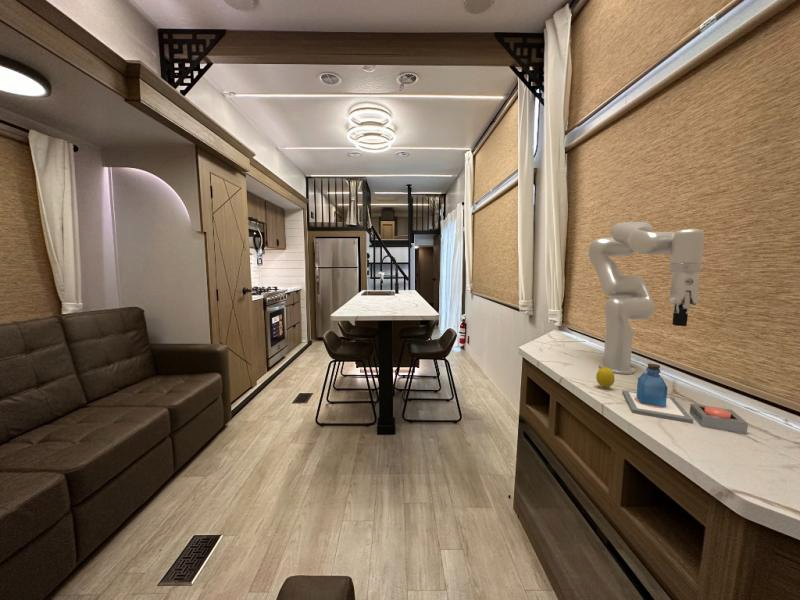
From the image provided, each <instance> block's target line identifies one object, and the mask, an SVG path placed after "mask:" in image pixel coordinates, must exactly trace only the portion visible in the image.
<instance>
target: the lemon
mask: <svg viewBox="0 0 800 600" xmlns="http://www.w3.org/2000/svg"><path fill="white" fill-rule="evenodd" d="M595 377H596V382H597V384H599V386H601V387H602V388H603V389H607V388H610V387H612V385H613V384H614V383H615V373H613V371H612V370H611V369H609V368H608V367H603V368H599V369H598V370H597V372H596V376H595Z"/></svg>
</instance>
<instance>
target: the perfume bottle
mask: <svg viewBox="0 0 800 600" xmlns="http://www.w3.org/2000/svg"><path fill="white" fill-rule="evenodd" d="M660 368H661V365H659V364H656V363H647V366H646V369H645V371H646V372H642V374H640V375H639V376H638V377H637V383H636V385H637V386H636V392H637V394H636V397H637V398H638V400H639V402H640V403H641V404H646V405H653V406H659V407H665V408H666V400H667V397H668V386H667V384H666V382H665V380H664V377H662V376H661V375H660V374H661V369H660Z"/></svg>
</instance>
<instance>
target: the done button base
mask: <svg viewBox="0 0 800 600" xmlns="http://www.w3.org/2000/svg"><path fill="white" fill-rule="evenodd" d="M706 406H707V405H704V404H703V405H702V404H696V403H690V405H689V415H690V416H692V418H693V419H694V420H695V421H696V422H697V423H698V425H700V426H701V427H702V428H710V429H715V430H721V431H727V432H732V433H738V434H743V435H744V434H745V435H747V434H748V429H749V428H748V427H749V423H748V422H747V421H746V420H745V419H743V418H742V417H741V416H740V415H739V414H737V413H736V412H735V411H734V410H733V409H729V408H723V407H721V408H722V409H725V410H727V411H729V412H731V418H730V419H729V418H723V417H717V416H711V415H707V414H706V413H705V412H704V410H705V407H706Z"/></svg>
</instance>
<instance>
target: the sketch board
mask: <svg viewBox="0 0 800 600" xmlns="http://www.w3.org/2000/svg"><path fill="white" fill-rule="evenodd" d="M621 392H622V393H621V394H622V395H623V397H624V399H625V402H626V403H627V406H628V407H629V410H630V412H631V413H633V414H637V415H642V416H648V417H653V418H654V417H655V418H660V419H665V420H670V421H671V420H672V421H676V422H683V423H688V424H694V418H693V417H691V415H690V413H688V412H687V411H686V409H684V407H682V405H681V404H680V403H679V402H678V401H677V399H675V398H674V397H670V396H667V400H666V408H665V407H659V406H653V405H646V404H641V403H640V402H639V400H638V398H637V397H636V394H637V391H630V390H624V389H623V390H622V391H621Z"/></svg>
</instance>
